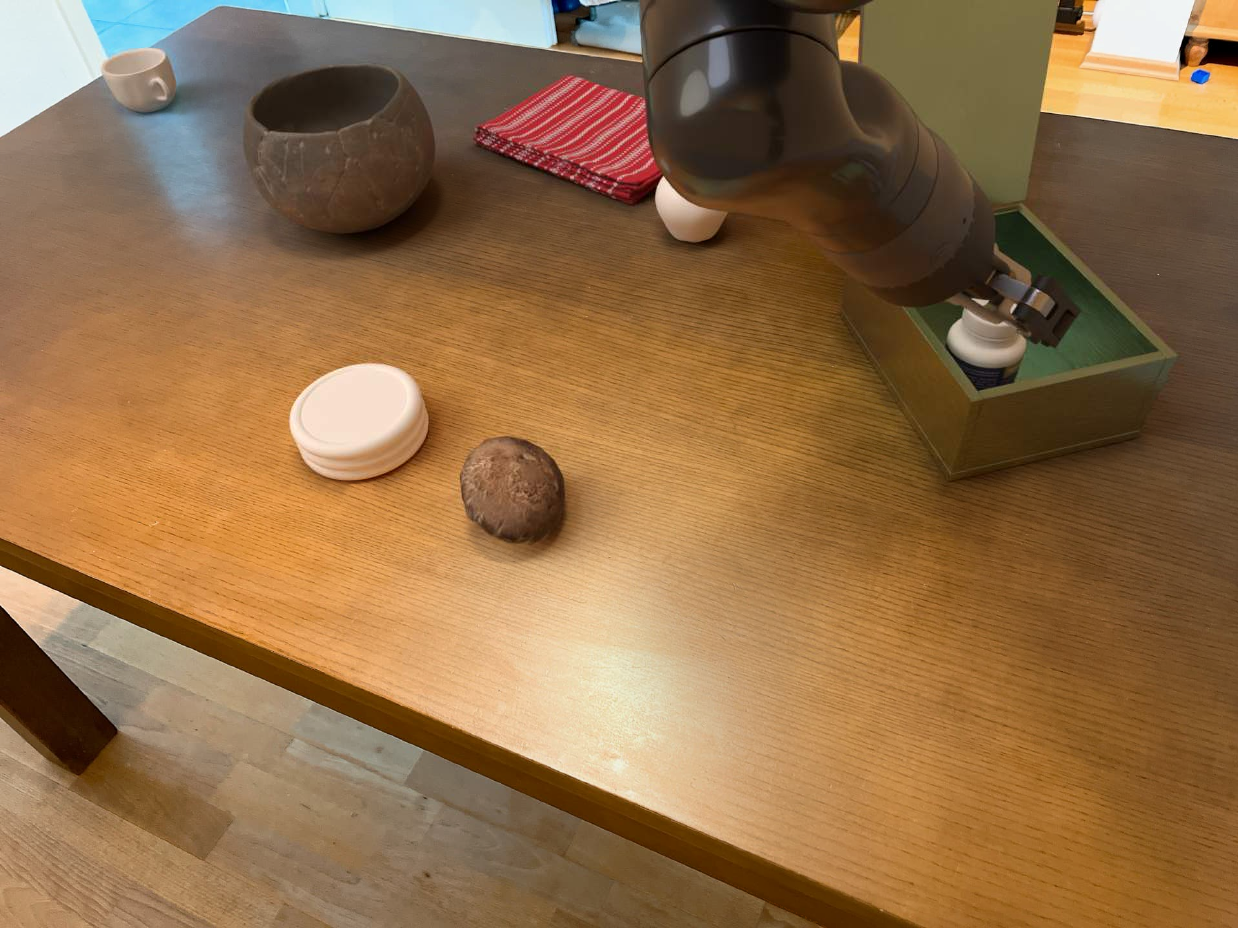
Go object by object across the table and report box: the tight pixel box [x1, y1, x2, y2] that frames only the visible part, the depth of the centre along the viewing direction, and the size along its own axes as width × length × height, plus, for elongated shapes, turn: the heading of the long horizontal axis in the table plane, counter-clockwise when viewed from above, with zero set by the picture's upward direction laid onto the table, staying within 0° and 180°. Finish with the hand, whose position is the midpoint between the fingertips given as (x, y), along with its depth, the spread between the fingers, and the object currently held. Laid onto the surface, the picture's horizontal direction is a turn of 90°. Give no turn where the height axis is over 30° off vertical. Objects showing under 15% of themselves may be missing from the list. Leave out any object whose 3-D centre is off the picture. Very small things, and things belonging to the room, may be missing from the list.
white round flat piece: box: [288, 362, 430, 481], centre depth 70 cm, size 10×10×4 cm
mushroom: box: [459, 435, 566, 546], centre depth 63 cm, size 8×8×6 cm
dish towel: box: [472, 74, 663, 205], centre depth 100 cm, size 17×24×3 cm
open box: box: [839, 202, 1179, 482], centre depth 69 cm, size 20×15×8 cm
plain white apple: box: [654, 176, 729, 243], centre depth 85 cm, size 7×7×8 cm
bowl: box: [242, 62, 436, 234], centre depth 89 cm, size 18×18×13 cm
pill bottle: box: [945, 298, 1026, 391], centre depth 65 cm, size 5×5×9 cm
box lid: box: [857, 0, 1060, 207], centre depth 68 cm, size 20×15×4 cm
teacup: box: [100, 47, 177, 113], centre depth 112 cm, size 10×8×5 cm
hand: (983, 298), depth 59 cm, fingers open, 8 cm apart
